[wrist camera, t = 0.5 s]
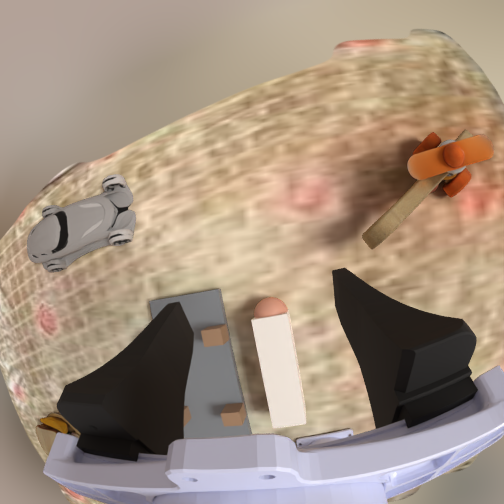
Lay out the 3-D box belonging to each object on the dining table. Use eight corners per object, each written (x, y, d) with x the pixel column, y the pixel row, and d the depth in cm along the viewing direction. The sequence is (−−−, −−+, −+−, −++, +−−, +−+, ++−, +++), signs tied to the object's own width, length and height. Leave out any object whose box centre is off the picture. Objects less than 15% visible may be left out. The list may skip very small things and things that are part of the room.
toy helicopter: (464, 178, 33) (515, 144, 19) (377, 273, 34) (420, 272, 20) (428, 137, 34) (469, 88, 20) (335, 225, 35) (357, 196, 22)
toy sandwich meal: (98, 469, 38) (86, 480, 34) (55, 449, 40) (42, 457, 36) (83, 421, 39) (68, 430, 35) (41, 403, 41) (26, 409, 37)
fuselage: (305, 406, 34) (306, 423, 29) (276, 411, 35) (273, 428, 30) (285, 293, 36) (283, 295, 31) (254, 298, 36) (247, 302, 31)
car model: (141, 242, 40) (123, 238, 35) (42, 278, 43) (23, 278, 38) (131, 174, 41) (114, 163, 36) (37, 223, 44) (19, 219, 39)
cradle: (254, 436, 34) (249, 452, 30) (187, 438, 36) (177, 452, 32) (221, 288, 37) (212, 289, 33) (152, 300, 38) (136, 303, 34)
